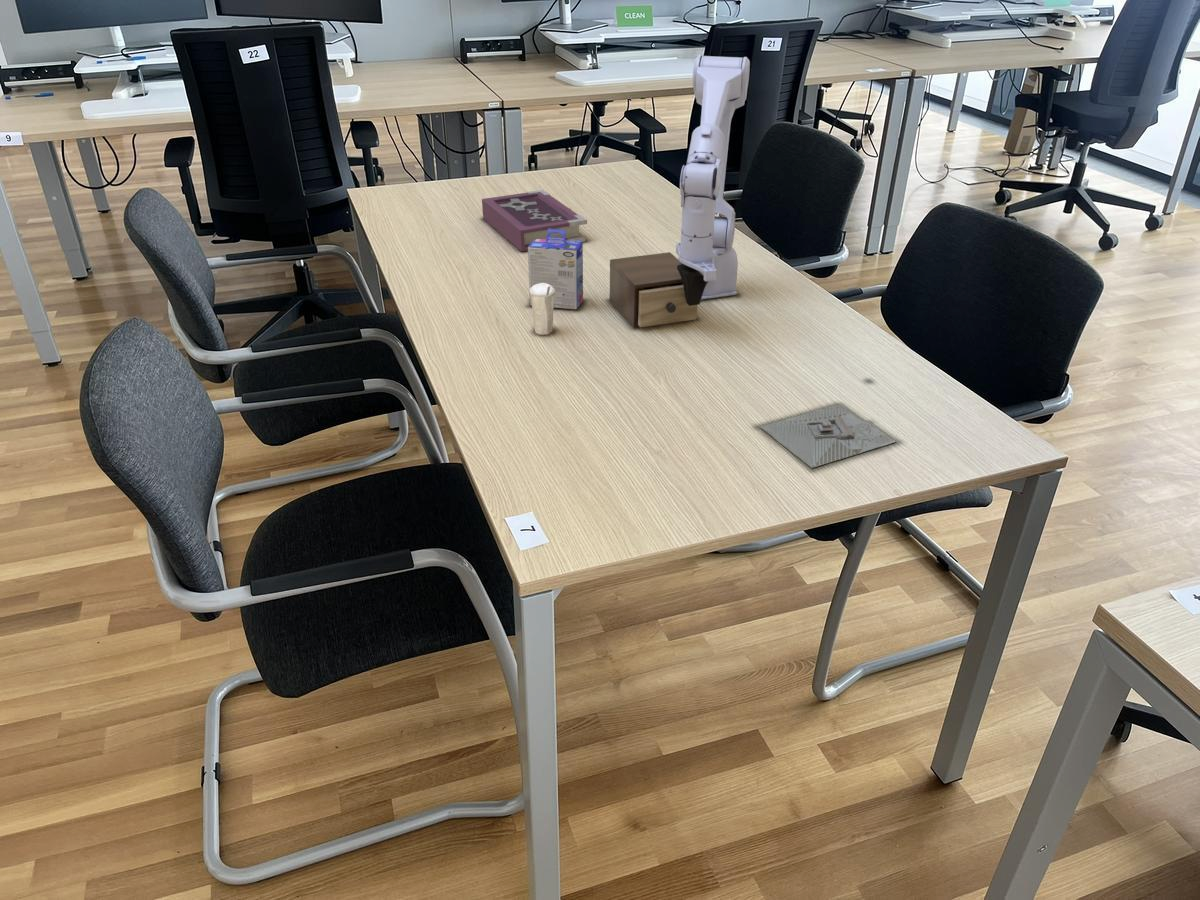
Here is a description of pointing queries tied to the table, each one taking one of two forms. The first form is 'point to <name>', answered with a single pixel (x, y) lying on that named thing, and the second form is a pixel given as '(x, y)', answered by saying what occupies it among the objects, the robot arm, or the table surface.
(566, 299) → the ink cartridge box
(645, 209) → the table surface
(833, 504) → the table surface
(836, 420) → the grey flat square slab
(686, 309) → the drawer
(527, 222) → the book
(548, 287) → the milkshake
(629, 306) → the cabinet
